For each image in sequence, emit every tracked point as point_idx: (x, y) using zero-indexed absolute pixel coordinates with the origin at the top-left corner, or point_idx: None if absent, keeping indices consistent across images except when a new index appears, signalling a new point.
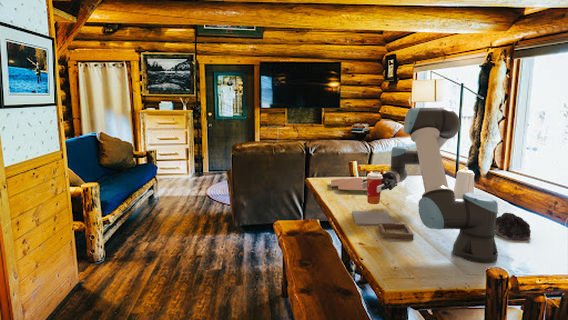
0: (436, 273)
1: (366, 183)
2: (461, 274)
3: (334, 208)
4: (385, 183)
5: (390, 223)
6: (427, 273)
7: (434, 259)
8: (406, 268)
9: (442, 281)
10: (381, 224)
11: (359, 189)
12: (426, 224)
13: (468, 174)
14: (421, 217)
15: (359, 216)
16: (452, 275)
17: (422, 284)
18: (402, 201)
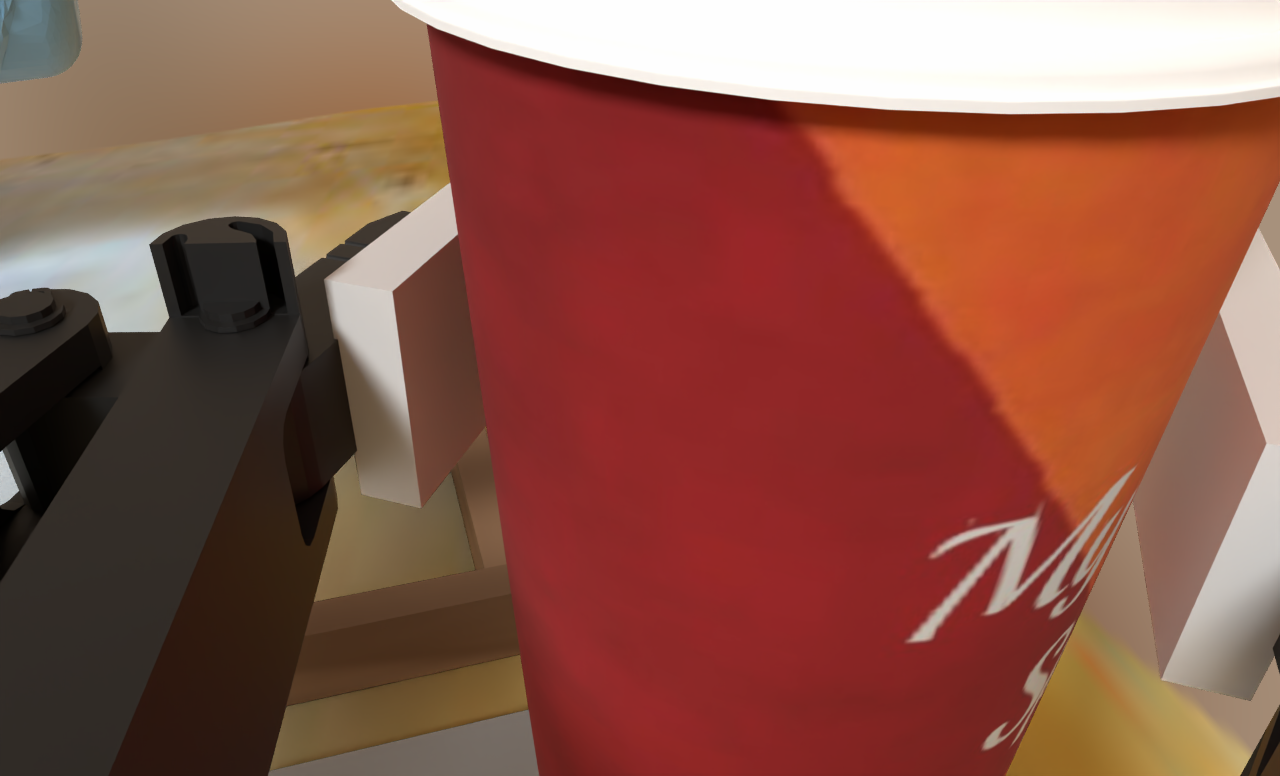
0: (170, 184)
1: (1199, 377)
2: (12, 198)
3: None
4: (273, 242)
5: (339, 621)
6: (226, 177)
7: (95, 269)
8: (339, 185)
9: (173, 153)
10: (488, 550)
11: None
12: (79, 13)
13: None
14: (75, 2)
15: None
16: (79, 186)
17: (290, 131)
18: None
